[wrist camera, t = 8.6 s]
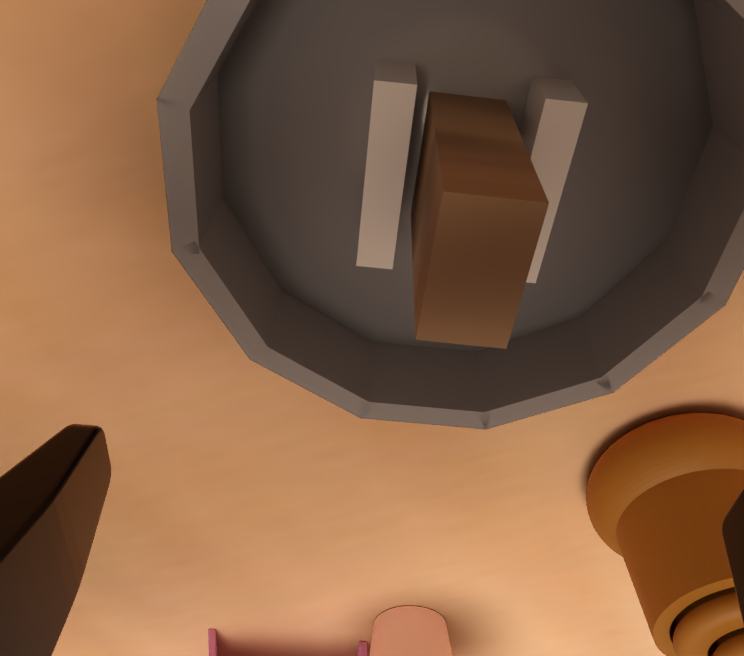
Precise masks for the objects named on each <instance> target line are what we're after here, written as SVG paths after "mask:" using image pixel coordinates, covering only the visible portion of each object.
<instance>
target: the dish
mask: <svg viewBox="0 0 744 656" xmlns="http://www.w3.org/2000/svg"><path fill="white" fill-rule="evenodd" d="M430 91H432V92H440V93H449V94H457V95H466V96H474V97H483V98H491V99H500V100H506V102H507V104H508V106H509V109H510V111H511V114H512V116H513V118H514V121H515V123H516V126H517V128H518V130H519V133H520V135H521V137H522V140H523V142H524V145H525V147H526V149H527V152H528V154H529V156H530V159H531V161H532V164H533V166H534V168H535V171H536V173H537V176H538V178H539V180H540V183H541V185H542V187H543V190H544V192H545V195H546V197H547V199H548V202H549V205H548V209H547V212H546V216H545V219H544V223H543V226H542V229H541V233H540V236H539V240H538V243H537V246H536V250H535V253H534V257H533V260H532V263H531V267H530V270H529V274H528V277H527V281H526V284H525V287H524V291H523V294H522V298H521V301H520V304H519V308H518V311H517V315H516V318H515V321H514V325H513V328H512V332H511V335H510V339H509V342H508V345H507V349H503V348H493V347H483V346H473V345H464V344H454V343H444V342H434V341H424V340H416V336H415V311H414V287H413V262H412V238H411V214H410V213H411V207H412V200H413V194H414V187H415V181H416V175H417V168H418V162H419V155H420V149H421V143H422V136H423V130H424V124H425V117H426V111H427V104H428V98H429V92H430ZM156 100H157V106H158V116H159V127H160V137H161V147H162V157H163V167H164V177H165V188H166V198H167V208H168V218H169V228H170V238H171V249H172V250H171V251H172V252H173V254H174V255H175V257H176V258H177V259H178V261H179V262H180V263H181V265H182V266H183V268H184V269H185V270H186V272H187V273H188V275H189V276H190V277H191V279H192V280H193V281H194V283H195V284H196V286H197V287H198V288H199V290H200V291H201V293H202V294H203V295H204V297H205V298H206V299H207V301H208V302H209V304H210V305H211V306H212V308H213V309H214V311H215V312H216V313H217V315H218V316H219V317H220V319H221V320H222V322H223V323H224V324H225V326H226V327H227V329H228V330H229V331H230V333H231V334H232V335H233V337H234V338H235V340H236V341H237V342H238V344H239V345H240V347H241V348H242V349H243V351H244V352H245V354H246V355H247V356H248V358H249V359H250V360H252V361H254V362H256V363H257V364H259V365H261V366H263V367H265V368H267V369H269V370H271V371H273V372H274V373H276V374H278V375H280V376H282V377H284V378H286V379H288V380H290V381H291V382H293V383H295V384H297V385H299V386H301V387H303V388H305V389H307V390H308V391H310V392H312V393H314V394H316V395H318V396H320V397H322V398H323V399H325V400H327V401H329V402H331V403H333V404H335V405H337V406H339V407H340V408H342V409H344V410H346V411H348V412H350V413H352V414H354V415H356V416H357V417H359V418H364V419H375V420H386V421H398V422H409V423H420V424H431V425H443V426H454V427H465V428H476V429H489V428H492V427H496V426H499V425H503V424H506V423H510V422H513V421H517V420H520V419H524V418H527V417H530V416H534V415H537V414H541V413H544V412H548V411H551V410H555V409H558V408H562V407H565V406H569V405H572V404H575V403H579V402H582V401H586V400H589V399H593V398H596V397H600V396H603V395H607V394H610V393H613V392H614V391H616V390H617V389H618V388H619V387H621V386H622V385H623V384H625V383H626V382H627V381H628V380H630V379H631V378H632V377H634V376H635V375H636V374H637V373H639V372H640V371H641V370H643V369H644V368H645V367H646V366H648V365H649V364H650V363H652V362H653V361H654V360H655V359H657V358H658V357H659V356H661V355H662V354H663V353H664V352H666V351H667V350H668V349H670V348H671V347H672V346H673V345H675V344H676V343H677V342H679V341H680V340H681V339H682V338H684V337H685V336H686V335H687V334H689V333H690V332H691V331H693V330H694V329H695V328H696V327H698V326H699V325H700V324H702V323H703V322H704V321H705V320H707V319H708V318H709V317H711V316H712V315H713V314H714V313H716V312H717V311H718V310H720V309H721V308H722V307H723V306H725V305H726V303H727V301H728V299H729V297H730V295H731V293H732V291H733V289H734V287H735V285H736V283H737V281H738V279H739V277H740V275H741V273H742V271H743V269H744V0H207V2H206V4H205V6H204V8H203V10H202V11H201V13H200V15H199V17H198V19H197V21H196V23H195V25H194V27H193V29H192V31H191V33H190V35H189V37H188V39H187V41H186V43H185V45H184V47H183V49H182V51H181V53H180V54H179V56H178V58H177V60H176V62H175V64H174V66H173V68H172V70H171V72H170V74H169V76H168V78H167V80H166V82H165V84H164V86H163V88H162V90H161V92H160V94H159V96H158V97H157V99H156Z"/></svg>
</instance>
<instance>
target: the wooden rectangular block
mask: <svg viewBox="0 0 744 656" xmlns="http://www.w3.org/2000/svg"><path fill="white" fill-rule="evenodd" d="M548 205H549V202H548V199H547V197H546V195H545V192H544V190H543V187H542V185H541V183H540V180H539V178H538V176H537V173H536V171H535V168H534V166H533V164H532V161H531V159H530V156H529V154H528V152H527V149H526V147H525V145H524V142H523V140H522V137H521V135H520V133H519V130H518V128H517V126H516V123H515V121H514V118H513V116H512V114H511V111H510V109H509V106H508V104H507V102H506V100H500V99H491V98H483V97H474V96H466V95H457V94H449V93H440V92H432V91H430V92H429V98H428V104H427V111H426V117H425V124H424V130H423V136H422V143H421V149H420V155H419V162H418V168H417V175H416V181H415V187H414V194H413V200H412V207H411V213H410V214H411V238H412V262H413V287H414V311H415V336H416V340H424V341H434V342H444V343H454V344H464V345H473V346H483V347H493V348H503V349H507V345H508V342H509V339H510V335H511V332H512V328H513V325H514V321H515V318H516V315H517V311H518V308H519V304H520V301H521V298H522V294H523V291H524V287H525V284H526V281H527V277H528V274H529V270H530V267H531V263H532V260H533V257H534V253H535V250H536V246H537V243H538V240H539V236H540V233H541V229H542V226H543V223H544V219H545V216H546V212H547V209H548Z"/></svg>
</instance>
